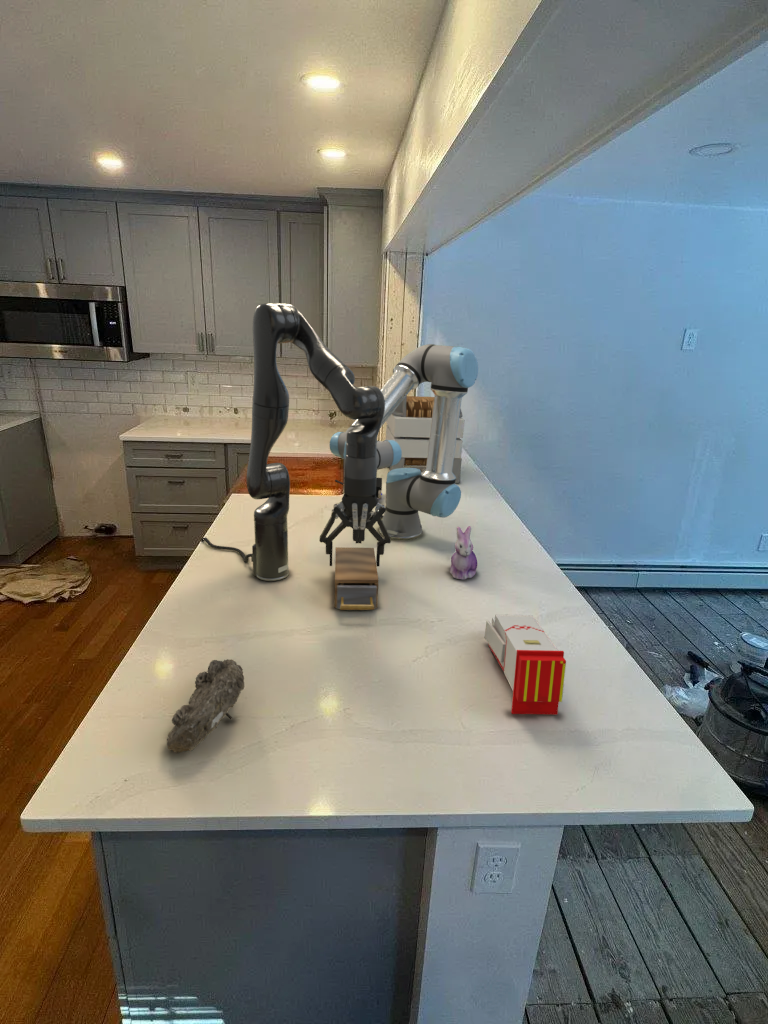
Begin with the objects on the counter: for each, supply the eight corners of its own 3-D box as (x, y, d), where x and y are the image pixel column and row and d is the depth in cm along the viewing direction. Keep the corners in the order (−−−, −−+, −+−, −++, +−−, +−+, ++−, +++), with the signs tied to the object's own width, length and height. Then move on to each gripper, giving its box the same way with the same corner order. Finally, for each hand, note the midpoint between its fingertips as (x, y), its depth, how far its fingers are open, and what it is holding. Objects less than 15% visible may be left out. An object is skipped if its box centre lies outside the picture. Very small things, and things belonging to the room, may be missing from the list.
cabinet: (377, 607, 150) (378, 579, 147) (334, 607, 149) (335, 579, 146) (372, 573, 170) (373, 547, 167) (335, 572, 169) (335, 547, 166)
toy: (530, 600, 137) (574, 657, 108) (525, 651, 140) (567, 720, 111) (480, 599, 137) (511, 656, 107) (477, 651, 139) (506, 719, 110)
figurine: (459, 583, 165) (464, 535, 160) (440, 569, 174) (444, 523, 169) (486, 577, 169) (491, 531, 164) (466, 564, 178) (470, 519, 173)
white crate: (382, 463, 289) (386, 382, 275) (445, 464, 293) (451, 384, 279) (390, 482, 257) (394, 392, 243) (460, 483, 261) (468, 394, 247)
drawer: (376, 619, 142) (377, 597, 140) (336, 619, 142) (337, 597, 140) (371, 575, 166) (372, 555, 164) (337, 575, 165) (337, 555, 163)
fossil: (192, 660, 117) (244, 628, 112) (224, 691, 120) (276, 661, 115) (142, 746, 98) (202, 712, 93) (182, 779, 101) (242, 748, 96)
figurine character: (382, 507, 229) (381, 492, 243) (383, 490, 226) (382, 475, 239) (365, 506, 229) (366, 491, 242) (366, 489, 226) (366, 475, 239)
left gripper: (331, 477, 128) (330, 548, 134) (390, 478, 129) (386, 548, 135) (332, 468, 135) (331, 536, 141) (387, 469, 136) (384, 536, 142)
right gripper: (310, 497, 153) (310, 569, 160) (402, 499, 155) (398, 570, 162) (311, 489, 160) (311, 558, 167) (399, 491, 162) (396, 559, 169)
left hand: (358, 542), depth 138 cm, fingers closed
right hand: (354, 564), depth 164 cm, fingers open, 13 cm apart
